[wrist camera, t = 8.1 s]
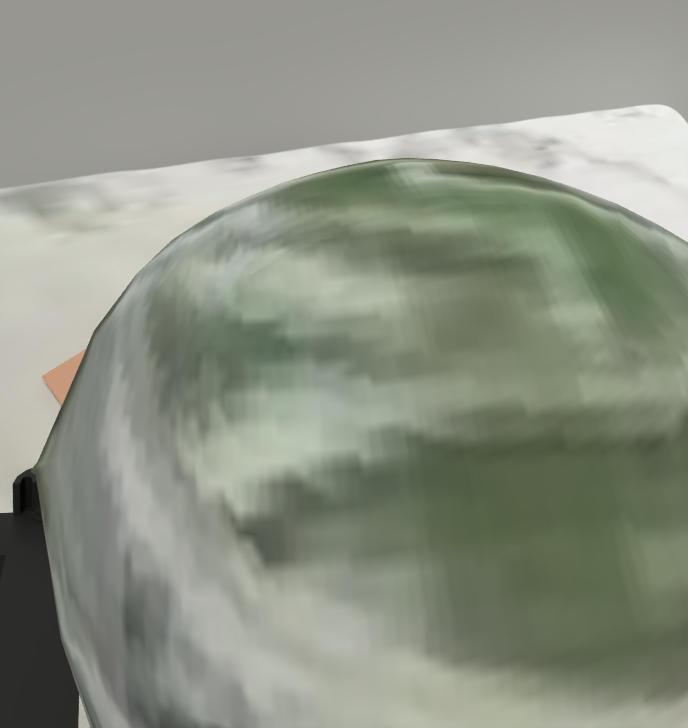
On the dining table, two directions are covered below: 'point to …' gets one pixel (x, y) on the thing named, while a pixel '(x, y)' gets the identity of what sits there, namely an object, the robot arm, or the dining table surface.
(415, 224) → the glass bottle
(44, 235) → the dining table surface
